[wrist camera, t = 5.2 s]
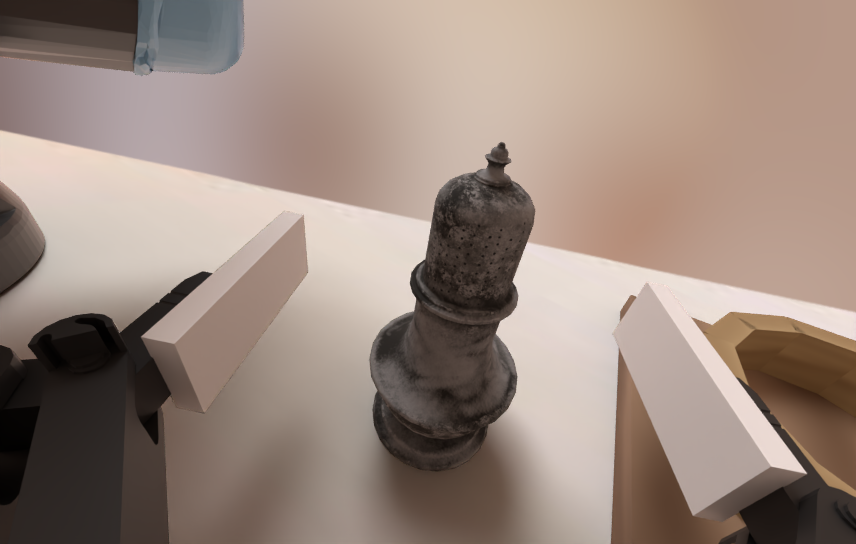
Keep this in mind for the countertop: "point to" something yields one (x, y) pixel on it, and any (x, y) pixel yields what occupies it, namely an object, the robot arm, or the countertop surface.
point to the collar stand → (781, 392)
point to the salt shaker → (455, 324)
